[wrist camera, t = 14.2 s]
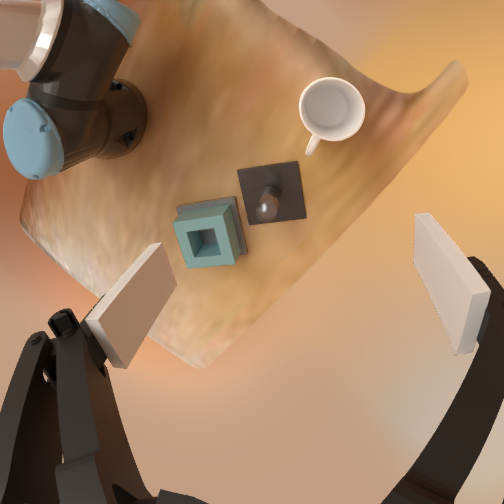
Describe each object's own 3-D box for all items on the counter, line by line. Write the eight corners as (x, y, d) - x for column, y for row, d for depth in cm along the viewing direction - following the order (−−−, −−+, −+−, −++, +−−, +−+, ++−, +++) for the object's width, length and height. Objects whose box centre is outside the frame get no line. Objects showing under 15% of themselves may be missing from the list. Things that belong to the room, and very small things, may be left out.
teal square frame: (182, 211, 55) (172, 222, 51) (229, 204, 53) (222, 215, 49) (195, 255, 59) (187, 268, 55) (240, 250, 57) (235, 264, 53)
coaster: (177, 205, 56) (176, 207, 55) (234, 196, 53) (233, 197, 53) (193, 257, 61) (192, 259, 60) (247, 252, 58) (247, 254, 57)
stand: (237, 169, 51) (224, 184, 43) (297, 160, 49) (295, 174, 41) (249, 224, 55) (239, 247, 48) (305, 217, 53) (305, 240, 45)
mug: (325, 158, 48) (331, 177, 37) (279, 132, 47) (271, 143, 37) (362, 98, 42) (379, 99, 32) (314, 70, 41) (317, 62, 31)
